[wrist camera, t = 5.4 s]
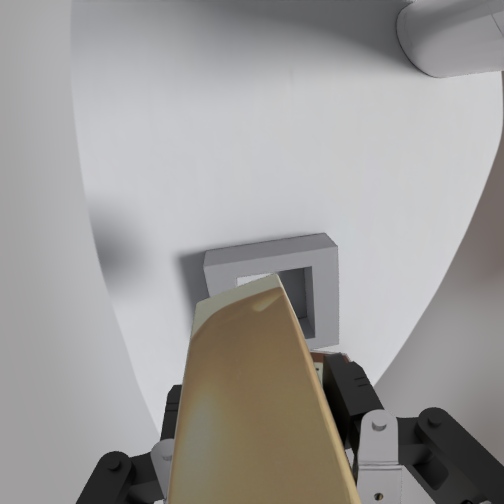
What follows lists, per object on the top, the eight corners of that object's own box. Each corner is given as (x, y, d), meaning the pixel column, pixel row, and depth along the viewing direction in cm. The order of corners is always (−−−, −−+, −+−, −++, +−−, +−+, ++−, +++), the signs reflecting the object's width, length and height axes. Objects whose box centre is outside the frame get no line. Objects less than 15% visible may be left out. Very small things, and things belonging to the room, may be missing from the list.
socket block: (325, 232, 32) (339, 248, 27) (328, 323, 36) (340, 347, 31) (206, 250, 31) (202, 269, 27) (225, 340, 35) (225, 366, 31)
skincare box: (313, 360, 17) (385, 564, 6) (241, 386, 17) (263, 593, 6) (275, 263, 15) (374, 537, 3) (189, 297, 15) (153, 569, 4)
